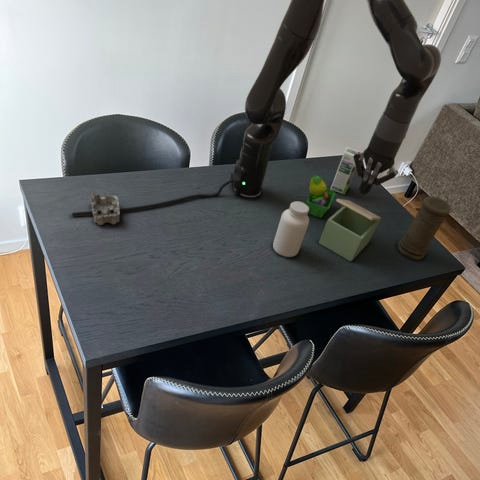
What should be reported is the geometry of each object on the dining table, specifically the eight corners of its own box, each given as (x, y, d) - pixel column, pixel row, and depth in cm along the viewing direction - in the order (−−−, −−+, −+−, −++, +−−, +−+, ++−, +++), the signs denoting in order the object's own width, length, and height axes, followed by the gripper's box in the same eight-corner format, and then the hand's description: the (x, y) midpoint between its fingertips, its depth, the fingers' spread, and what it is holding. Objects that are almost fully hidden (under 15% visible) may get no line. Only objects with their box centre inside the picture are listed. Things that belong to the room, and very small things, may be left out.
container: (424, 263, 146) (454, 216, 133) (397, 255, 146) (424, 207, 133) (422, 246, 153) (451, 200, 140) (396, 238, 153) (422, 191, 140)
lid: (371, 220, 129) (372, 217, 129) (335, 200, 132) (337, 198, 132) (379, 220, 142) (381, 217, 141) (347, 202, 145) (348, 200, 144)
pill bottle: (301, 246, 140) (316, 204, 129) (294, 261, 134) (310, 219, 124) (276, 237, 141) (289, 194, 130) (269, 251, 135) (282, 208, 124)
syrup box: (329, 189, 165) (343, 152, 155) (333, 182, 169) (347, 145, 159) (344, 195, 165) (359, 158, 154) (348, 188, 169) (363, 151, 158)
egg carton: (91, 203, 135) (90, 190, 132) (117, 203, 137) (117, 191, 134) (92, 225, 128) (91, 213, 125) (120, 225, 130) (120, 213, 127)
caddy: (350, 261, 140) (362, 238, 133) (318, 242, 143) (327, 219, 136) (368, 242, 148) (380, 220, 142) (337, 225, 151) (347, 202, 145)
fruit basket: (324, 221, 151) (335, 192, 143) (298, 212, 152) (308, 182, 144) (330, 204, 159) (342, 175, 151) (306, 195, 160) (316, 166, 151)
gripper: (360, 126, 115) (336, 187, 128) (408, 149, 112) (378, 209, 124) (372, 119, 120) (348, 178, 133) (418, 140, 116) (389, 199, 129)
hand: (363, 193), depth 129 cm, fingers closed
